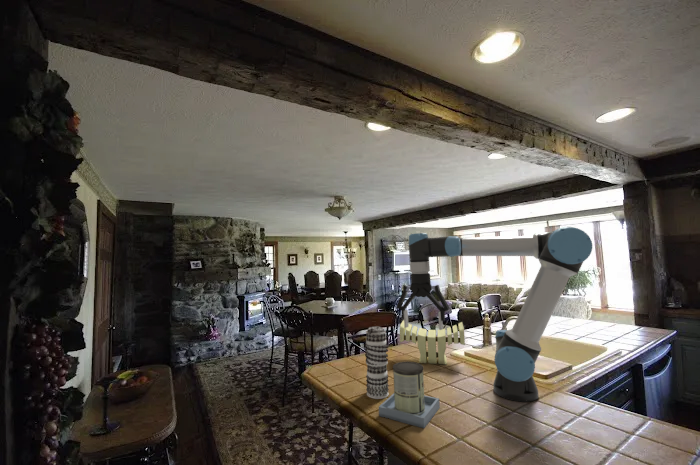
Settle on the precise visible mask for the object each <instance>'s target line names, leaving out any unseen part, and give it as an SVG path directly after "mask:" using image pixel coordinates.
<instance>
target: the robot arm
mask: <svg viewBox="0 0 700 465" xmlns="http://www.w3.org/2000/svg"><path fill="white" fill-rule="evenodd" d="M408 251H409V252H408V254H409V255H408V256H409V269H410V270H409V271H410V285H408V284H406V285H402V292H401V294H400V298H399V300H398V303H397V305H396V309H398V310H400V311H401V319H403V320H404V328H407V327H408V326H409V325H408V323H409V314H408V312H409V310H408V309H407V308H408V306H409V305H410V304H411V303H412V301H413V300H414V298H427V299H429V300H430V301H431V303H432V304H433V305H434V306H435V307H436V308H437V309H438V310H439V311H438V312H437V314H438V316H437V317H438V330H442V329H444V323H443V321H445V319H446V315H445V314H446V311H449V310H450V306H449V304H448V302H447V301H446V299H445V297H444V295H443V293H442V291H441V287H440V285H439V284H436V285H432V282H431V274H430V270H431V269H430V267H431V266H430V258H442V257H443V258H444V257H445V258H446V257H447V258H448V257H449V258H451V257H533V258H535V259H537V260H538V261H539V264H540V267H539V269H538V272H537V274H536V276H535V279H534V281H533V283H532V285H531V287H530V290H529V291H528V294H527V296H526V298H525V299H524V300H525V301H524V303H523V305H522V307H521V309H520V311H519V314H518V316H517V317H516V320H515V322H514V324H513V327H512V328H511V329H498V330H497V331H495V354H494V364H495V367H496V369H497V371H496V373H495V378H494V381H493V392H494V393H495V394H496V395H497V396H499V397H501V398H503V399H507V400H509V401H515V402H534V401H537V399H539V390H538V386H537V383H536V381H535V379H534V376H533V375H534V372H535V370H536V362H537V360H538V358H539V355H540V353H541V351H542V347H541V345H540V341H541V338H542V336H543V334H544V333H545V331H546V328H547V325H548V324H549V322H550V320H551V318H552V315H553V313H554V311H555V310H556V306H557V305H558V302H559V300H560V298H561V297H562V294H563V292H564V290H565V288H566V286H567V284H568V281H569V279H570V278H571V277H573V276H576V275H578V273H580V272H579V271H580V269H581V267H582V265H583V264H584V262H585V261H586V260H588V258H589V257H590V255H591V254H592V251H593V243H592V239H591V237H590V236H589V235H588V233H587V232H585V231H584V230H583V229H580V228H577V227H572V226H562V227H559V228H557V229H555V230H551V231H547V232H537V233H534V234H533V235H522V236H521V235H520V236H518V235H514V236H483V237H482V236H479V237H477V236H476V237H459V236H454V235H453V236H451V235H448V236H439V237H429V236H428V234H427V233H426V232H420V233H419V232H418V233H411V234H409V235H408ZM410 290H411V291H410ZM432 290H433V292H435V295H436V296H437V298H438V300H439V301H438V300H437V299H436V297H435V296H434V294H432V292H431V291H432ZM409 291H410V292H412V293H411V294H410V295H409V297H408V298H407V299H406V297H407V294H408V292H409ZM405 299H406V301H405ZM404 301H405V302H404Z"/></svg>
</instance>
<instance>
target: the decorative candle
mask: <svg viewBox="0 0 700 465" xmlns="http://www.w3.org/2000/svg"><path fill="white" fill-rule="evenodd" d="M386 333H387V331H386V330H385V329H384V328H383V327H382V326H369V327H368V328H367V330H366V331H365V335H366V338H365V342H364V349H365V350H364V352H365V354H364V356H365V364H366V367H367V368H366V369H367V370H366V376H365V377H366V381H365V382H366V384H365V385H366V396H367V397H369V398H371V399H375V400H379V399H385V398H387V397H389V395H390V393H389V375H388V367H387V365H388V363H389V362H388V361H389V358H388V356H389V355H388V354H387V353H388V352H389V349H388V348H389V345H388V344H387V336H386Z"/></svg>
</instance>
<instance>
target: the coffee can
mask: <svg viewBox="0 0 700 465" xmlns="http://www.w3.org/2000/svg"><path fill="white" fill-rule="evenodd" d="M392 370H393V371H392V372H393V392H394V399H395V410H399V411H403V412H406V413H410V414H414V415H421V414H423V413H424V412H425V402H424V395H425V386H424V385H425V384H424V381H425V380H424V365H422V363H419V362H414V361H399V362H396V363H394V364H393V365H392Z"/></svg>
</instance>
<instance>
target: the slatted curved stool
mask: <svg viewBox="0 0 700 465" xmlns="http://www.w3.org/2000/svg"><path fill="white" fill-rule="evenodd" d="M457 324H458V326H457ZM457 324H455V325H453V326H452V328H451V326H449V327H447V328H443V329H442V330H439V329H437V330H436V329H428V331H427V329H426V328H423V327H422V328H421V327H418V326H416V325H413V324H412V323H409V322H408V325H409V326H408V327H407V328H404V319H403V320H402V322H401V323H400V325H399V343H402V342H410V341H411V343H413V344H414V345H416V344H417V349H418V351H419V354H420V356H419V358H418V363H419V364H427V363H428V364H432V365H433V364H434V365H437V361H438V365H447V363H448V362H447V360H448V359H447V355H446V349H447V346H450V345H453V344H455V345H457V344H460V345H462V346H466V342H465V341H466V340H465V328H464V324H463V321H461V322H458V323H457ZM452 332H453V334H452ZM446 334H447V336H446Z"/></svg>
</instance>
